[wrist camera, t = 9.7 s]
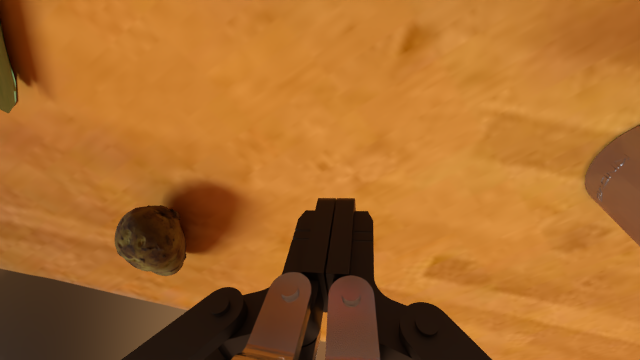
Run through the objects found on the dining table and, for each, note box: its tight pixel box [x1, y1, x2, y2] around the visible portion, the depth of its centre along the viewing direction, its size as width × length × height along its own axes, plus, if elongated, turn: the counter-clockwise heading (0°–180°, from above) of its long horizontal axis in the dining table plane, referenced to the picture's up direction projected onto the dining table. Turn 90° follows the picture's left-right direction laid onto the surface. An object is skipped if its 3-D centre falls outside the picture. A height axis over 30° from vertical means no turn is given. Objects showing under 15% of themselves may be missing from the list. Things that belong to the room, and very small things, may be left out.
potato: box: [115, 205, 186, 276], centre depth 33 cm, size 8×13×8 cm, turn 143°
